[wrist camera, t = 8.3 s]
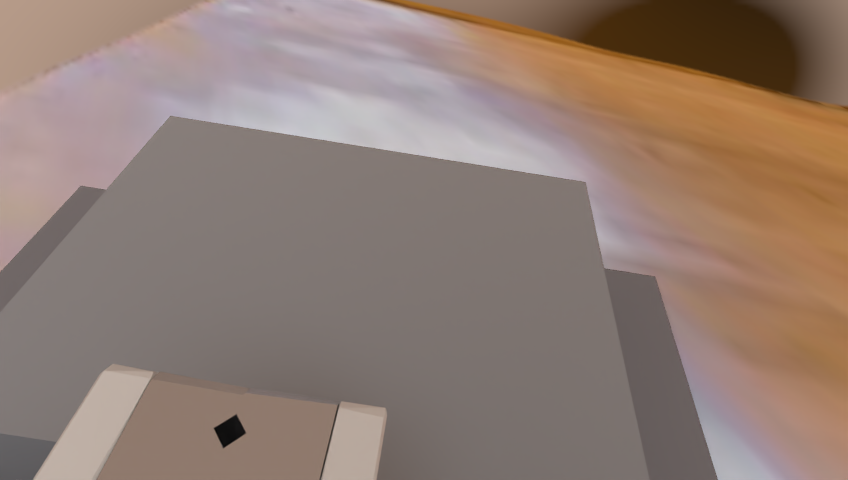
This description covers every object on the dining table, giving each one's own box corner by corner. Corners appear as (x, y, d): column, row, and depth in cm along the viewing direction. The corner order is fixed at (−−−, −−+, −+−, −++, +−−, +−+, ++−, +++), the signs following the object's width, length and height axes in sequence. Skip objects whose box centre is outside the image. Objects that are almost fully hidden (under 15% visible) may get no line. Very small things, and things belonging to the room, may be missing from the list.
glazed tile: (611, 642, 14) (561, 267, 24) (660, 534, 13) (585, 182, 23) (-57, 540, 14) (173, 206, 24) (-93, 418, 12) (170, 116, 23)
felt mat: (649, 291, 25) (655, 276, 25) (895, 1145, 10) (919, 1132, 9) (82, 202, 25) (80, 185, 24) (-572, 934, 10) (-599, 913, 9)
